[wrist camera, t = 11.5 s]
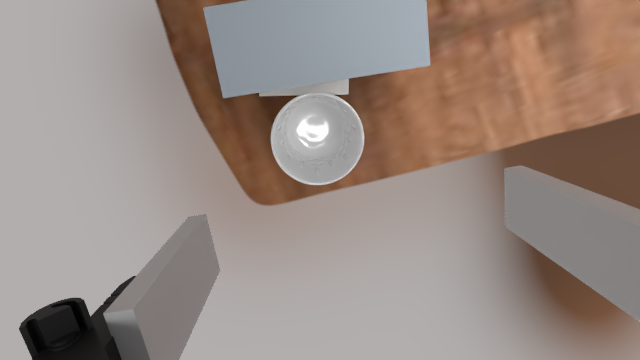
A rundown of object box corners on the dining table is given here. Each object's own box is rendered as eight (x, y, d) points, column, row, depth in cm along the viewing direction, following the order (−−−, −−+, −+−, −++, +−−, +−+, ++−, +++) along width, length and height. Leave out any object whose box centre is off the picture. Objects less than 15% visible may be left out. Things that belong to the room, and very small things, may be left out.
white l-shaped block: (252, -76, 34) (242, -106, 28) (345, -77, 34) (352, -106, 29) (262, 95, 38) (255, 97, 33) (345, 93, 38) (351, 95, 33)
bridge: (239, 33, 36) (203, 7, 23) (382, 11, 36) (424, -28, 23) (251, 93, 38) (223, 98, 25) (388, 71, 38) (430, 65, 25)
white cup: (264, 121, 39) (251, 134, 29) (319, 74, 37) (324, 71, 28) (310, 174, 40) (311, 202, 31) (364, 130, 39) (382, 146, 30)
